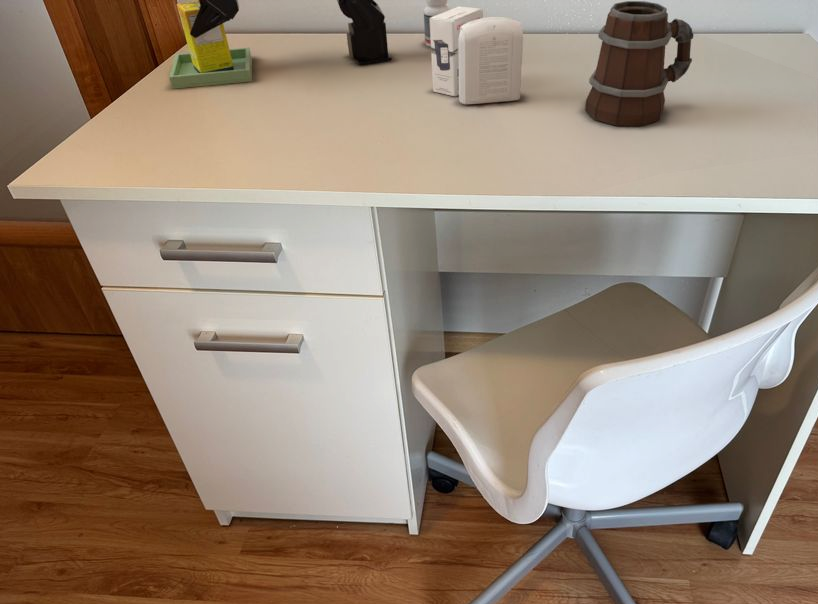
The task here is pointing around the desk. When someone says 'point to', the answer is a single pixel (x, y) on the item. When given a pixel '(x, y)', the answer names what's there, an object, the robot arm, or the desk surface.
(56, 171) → the desk surface
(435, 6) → the pill bottle
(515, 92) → the white rounded box
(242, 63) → the green tray
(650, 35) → the mug
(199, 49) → the supplement box
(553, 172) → the desk surface
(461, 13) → the ink box
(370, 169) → the desk surface
